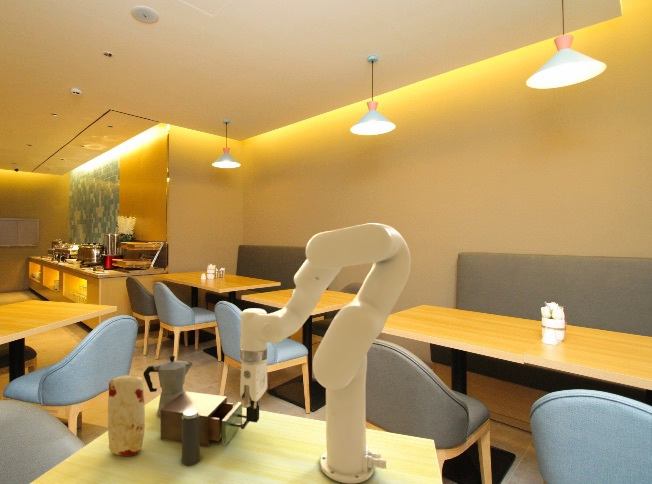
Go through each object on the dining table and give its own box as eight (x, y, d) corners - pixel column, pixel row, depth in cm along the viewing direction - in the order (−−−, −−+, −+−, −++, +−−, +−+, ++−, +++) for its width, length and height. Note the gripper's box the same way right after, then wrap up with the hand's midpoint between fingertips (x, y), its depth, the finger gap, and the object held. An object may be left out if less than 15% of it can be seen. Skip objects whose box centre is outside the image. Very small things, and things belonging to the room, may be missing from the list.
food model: (102, 459, 90) (101, 380, 90) (116, 444, 96) (116, 370, 97) (139, 460, 89) (138, 381, 89) (150, 445, 96) (150, 371, 96)
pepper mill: (194, 466, 86) (193, 417, 87) (178, 463, 88) (178, 415, 88) (202, 456, 91) (202, 409, 91) (187, 453, 92) (187, 407, 92)
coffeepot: (190, 401, 122) (190, 349, 122) (195, 413, 113) (195, 357, 114) (142, 410, 116) (142, 355, 116) (144, 424, 107) (144, 364, 107)
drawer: (255, 425, 104) (255, 404, 104) (241, 447, 93) (240, 423, 93) (201, 417, 109) (201, 397, 109) (181, 437, 98) (181, 414, 98)
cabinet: (227, 423, 107) (227, 396, 107) (207, 446, 95) (207, 416, 95) (184, 417, 111) (184, 391, 111) (160, 439, 99) (160, 409, 99)
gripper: (257, 365, 90) (256, 437, 90) (274, 347, 104) (273, 409, 104) (230, 361, 92) (229, 432, 92) (250, 345, 106) (249, 406, 106)
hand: (252, 420), depth 98 cm, fingers closed
